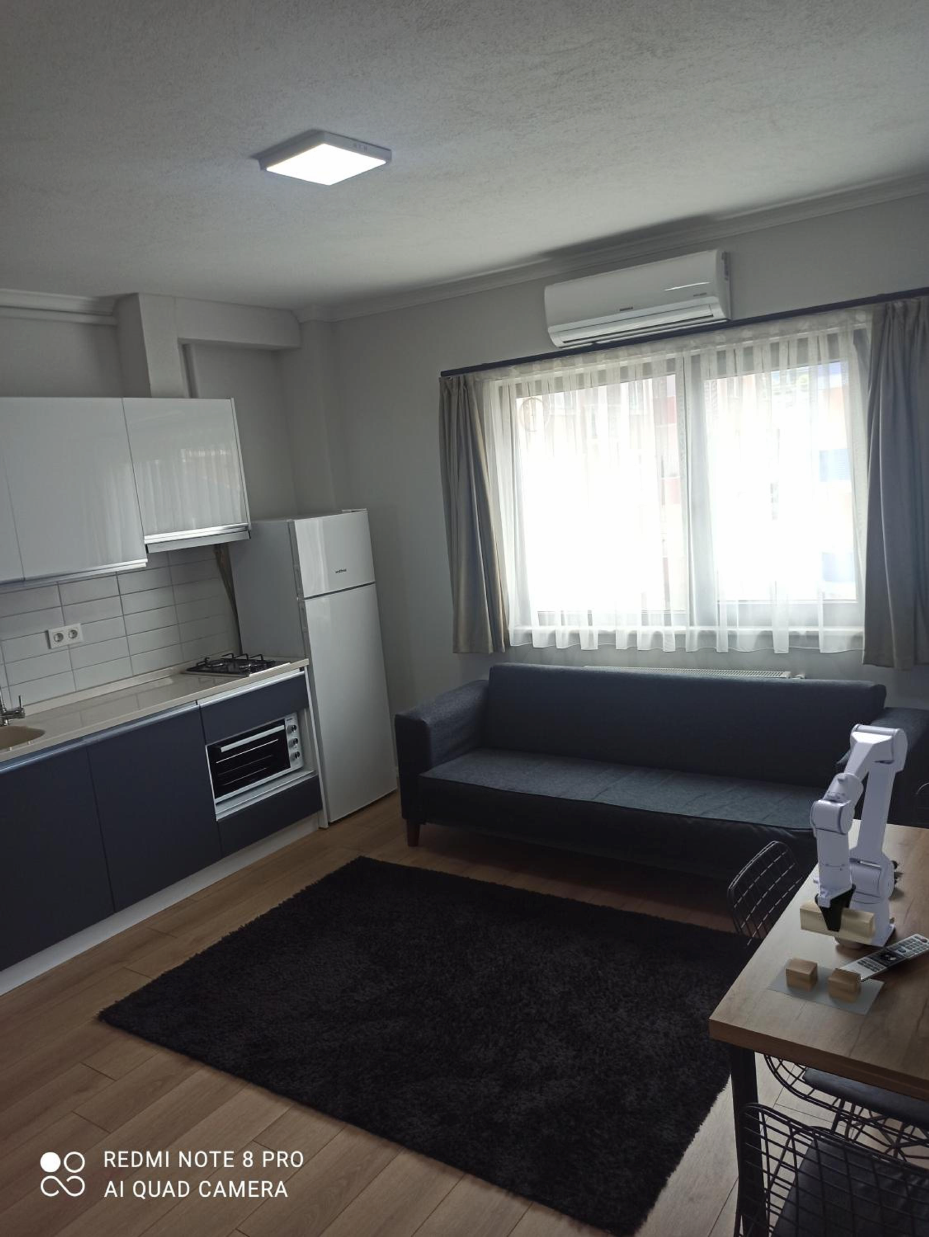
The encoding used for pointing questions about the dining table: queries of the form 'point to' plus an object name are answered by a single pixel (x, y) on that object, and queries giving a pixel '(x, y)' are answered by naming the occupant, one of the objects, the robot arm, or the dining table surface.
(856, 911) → the plank
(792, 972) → the block
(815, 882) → the robot arm
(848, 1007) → the mat
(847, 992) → the block
